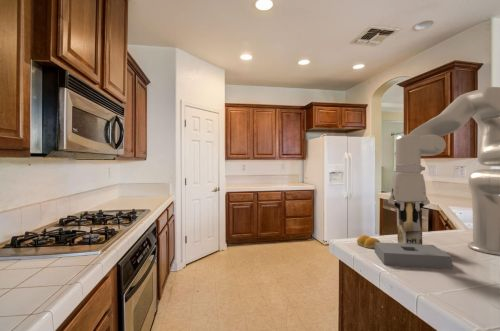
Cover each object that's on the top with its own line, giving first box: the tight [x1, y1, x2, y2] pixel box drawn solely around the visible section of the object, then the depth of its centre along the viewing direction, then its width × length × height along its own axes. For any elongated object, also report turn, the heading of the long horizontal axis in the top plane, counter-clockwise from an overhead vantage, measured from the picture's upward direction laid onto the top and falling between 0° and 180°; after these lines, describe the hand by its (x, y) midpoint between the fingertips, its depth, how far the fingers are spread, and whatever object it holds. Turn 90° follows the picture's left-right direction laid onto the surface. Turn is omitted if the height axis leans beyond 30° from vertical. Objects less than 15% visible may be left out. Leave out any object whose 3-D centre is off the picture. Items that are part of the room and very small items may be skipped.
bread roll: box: [356, 234, 381, 249], centre depth 105 cm, size 8×9×4 cm
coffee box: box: [396, 207, 423, 245], centre depth 104 cm, size 9×6×16 cm
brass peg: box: [404, 202, 414, 231], centre depth 88 cm, size 3×3×10 cm
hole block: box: [374, 241, 453, 270], centre depth 88 cm, size 20×12×4 cm, turn 77°
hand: (408, 221), depth 88 cm, fingers closed on brass peg, 3 cm apart
